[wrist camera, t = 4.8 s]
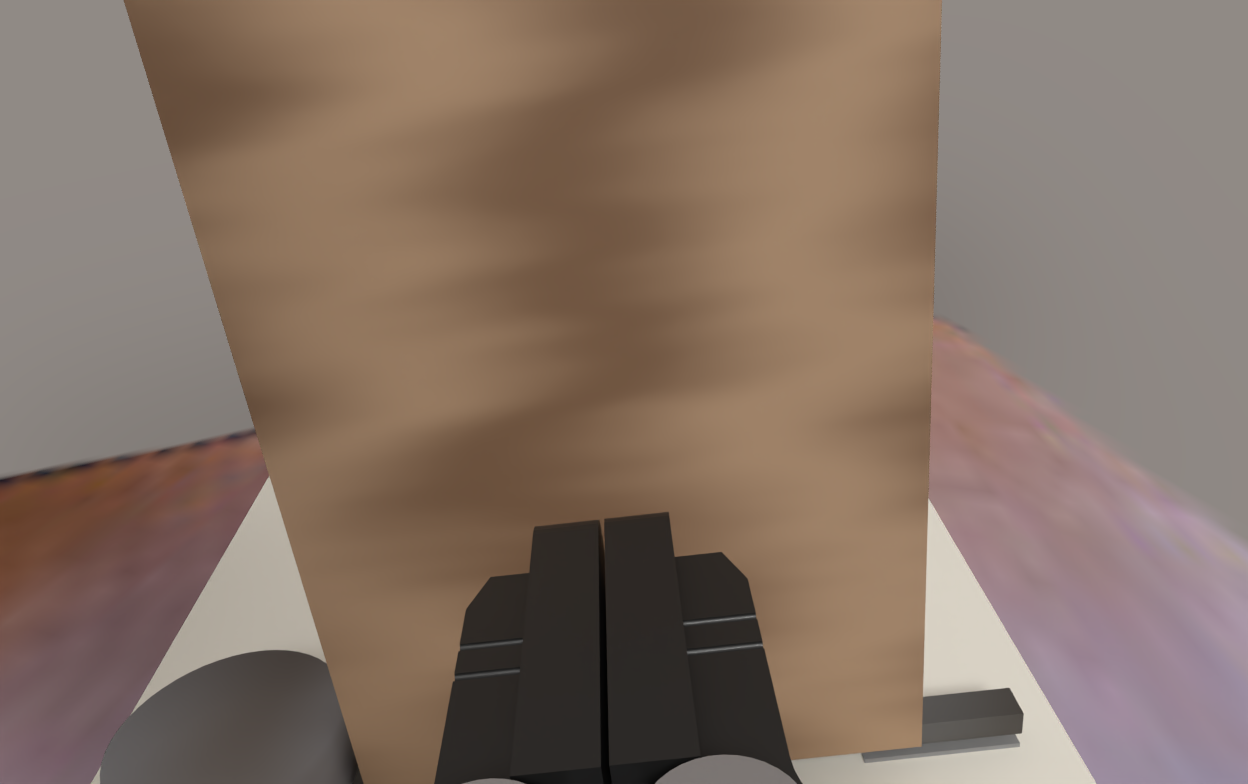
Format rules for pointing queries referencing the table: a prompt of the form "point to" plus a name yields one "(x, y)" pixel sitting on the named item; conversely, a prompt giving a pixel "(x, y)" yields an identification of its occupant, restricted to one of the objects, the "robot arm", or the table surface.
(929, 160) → the brown flat streaked slab
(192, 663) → the plate
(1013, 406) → the table surface
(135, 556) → the table surface
